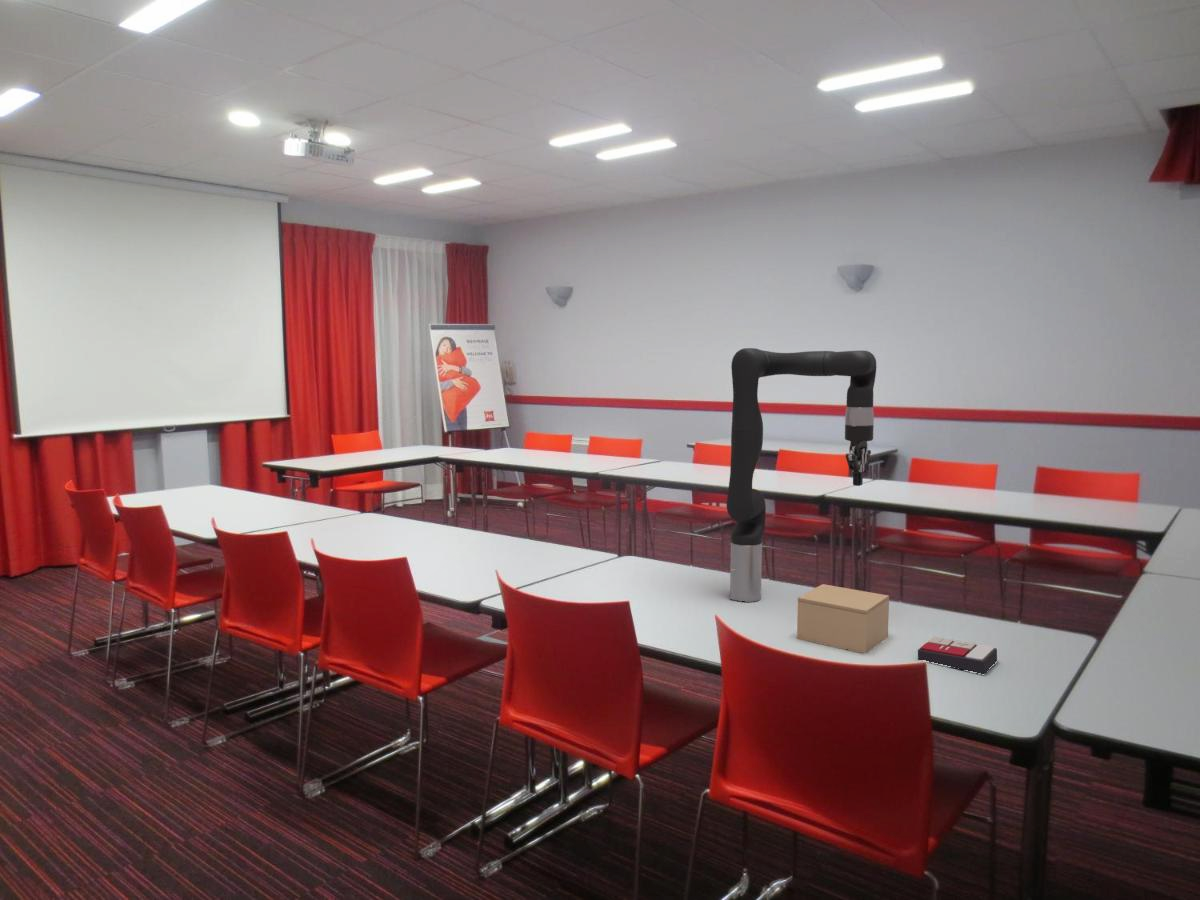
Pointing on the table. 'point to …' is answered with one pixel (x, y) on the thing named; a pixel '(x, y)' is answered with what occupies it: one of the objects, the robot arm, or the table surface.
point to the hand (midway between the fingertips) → (857, 485)
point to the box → (842, 626)
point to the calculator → (958, 654)
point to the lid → (844, 598)
